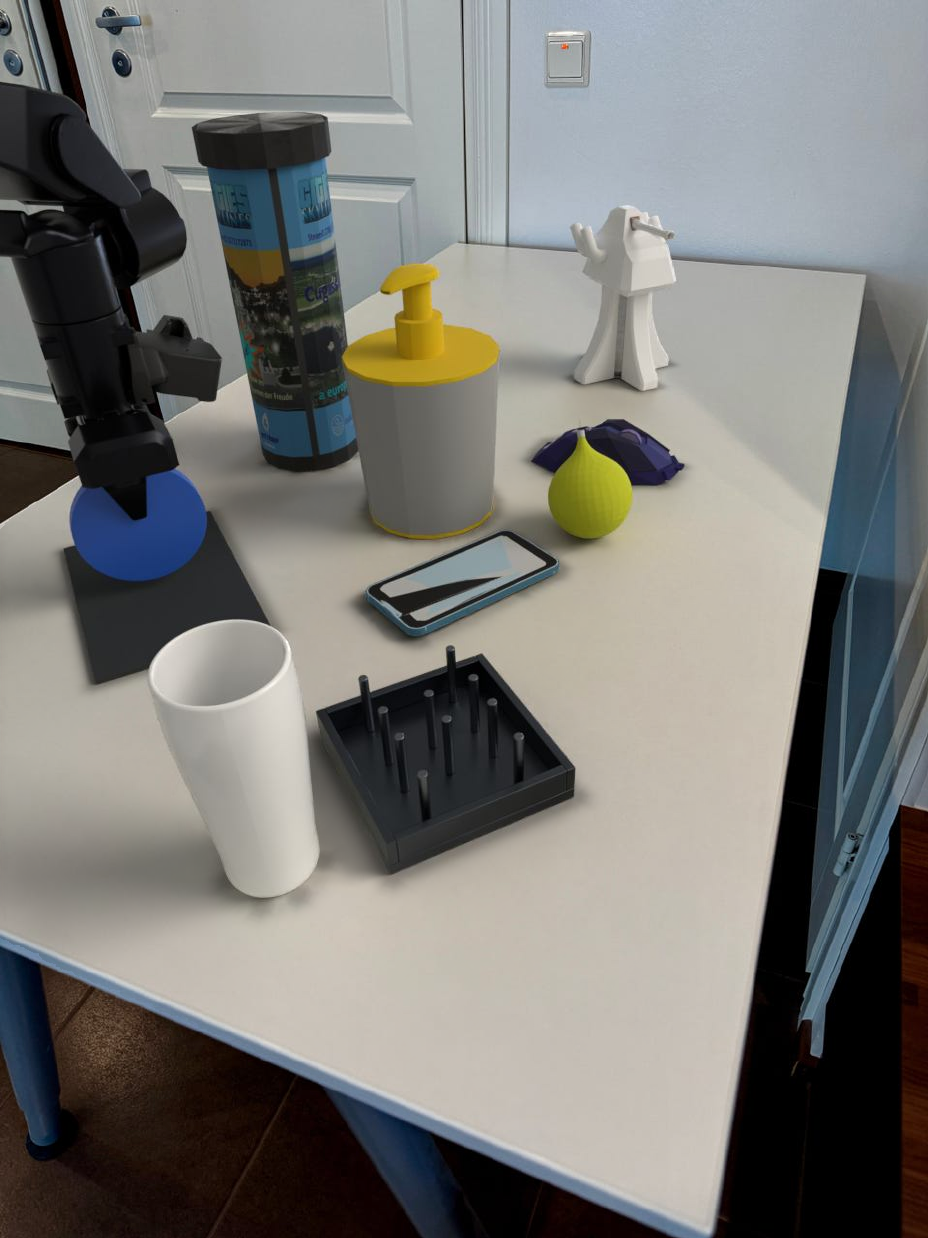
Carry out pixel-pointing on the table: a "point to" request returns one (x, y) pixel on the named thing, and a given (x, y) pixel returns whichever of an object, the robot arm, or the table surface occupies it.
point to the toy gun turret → (625, 296)
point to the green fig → (589, 493)
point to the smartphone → (460, 581)
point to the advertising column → (283, 280)
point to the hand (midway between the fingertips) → (138, 514)
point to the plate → (140, 529)
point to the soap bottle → (424, 415)
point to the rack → (442, 759)
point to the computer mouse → (616, 451)
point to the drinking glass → (241, 748)
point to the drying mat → (157, 605)
